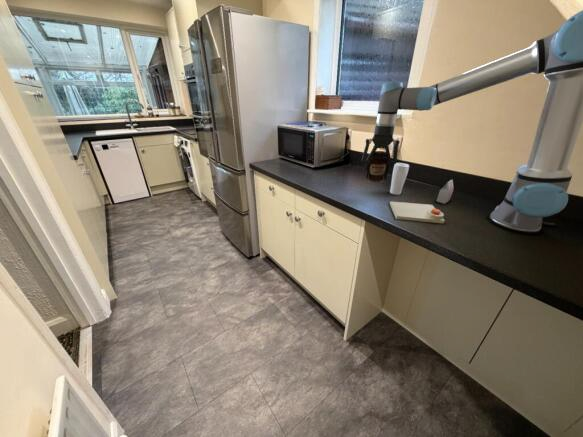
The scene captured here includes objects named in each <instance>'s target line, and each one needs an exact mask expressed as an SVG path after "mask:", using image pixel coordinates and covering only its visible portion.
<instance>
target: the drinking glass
mask: <svg viewBox="0 0 583 437" xmlns="http://www.w3.org/2000/svg"><path fill="white" fill-rule="evenodd" d="M409 169H410V164H408V163H404V162H397V163H396V164H393V168H392V175H391V182H390V189H389V193H390V194H391V195H394V196H400V195H401V194H402V191H403V189H404V188H403V187H404V185H405V182H406V180H407V176H408V173H409Z"/></svg>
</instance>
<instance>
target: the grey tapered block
mask: <svg viewBox="0 0 583 437" xmlns="http://www.w3.org/2000/svg"><path fill="white" fill-rule="evenodd" d="M454 190H455V189H454V180H453V179H450V180H449V181H447V182H446V184H444V186H443V187H442V188H441V189H439V192H438V195H437V197H436V202H437V203H441V204H447V203H448V202H449V201H450V200H451V198H452V196H453V193H454Z"/></svg>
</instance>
